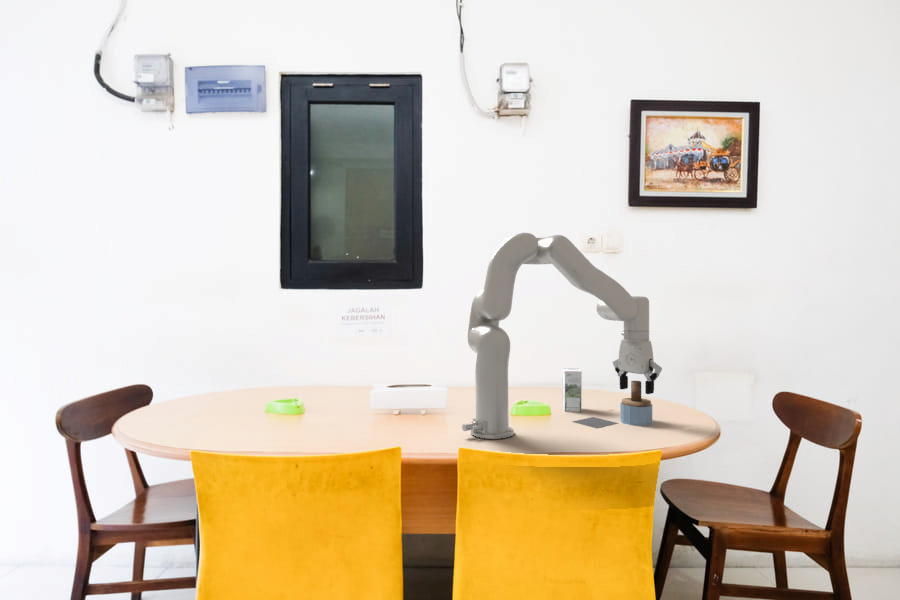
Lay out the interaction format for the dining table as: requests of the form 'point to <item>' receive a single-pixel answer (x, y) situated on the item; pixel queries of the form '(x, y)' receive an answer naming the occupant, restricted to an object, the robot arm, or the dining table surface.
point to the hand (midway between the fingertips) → (636, 391)
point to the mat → (595, 422)
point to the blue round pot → (636, 415)
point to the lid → (636, 396)
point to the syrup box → (572, 389)
